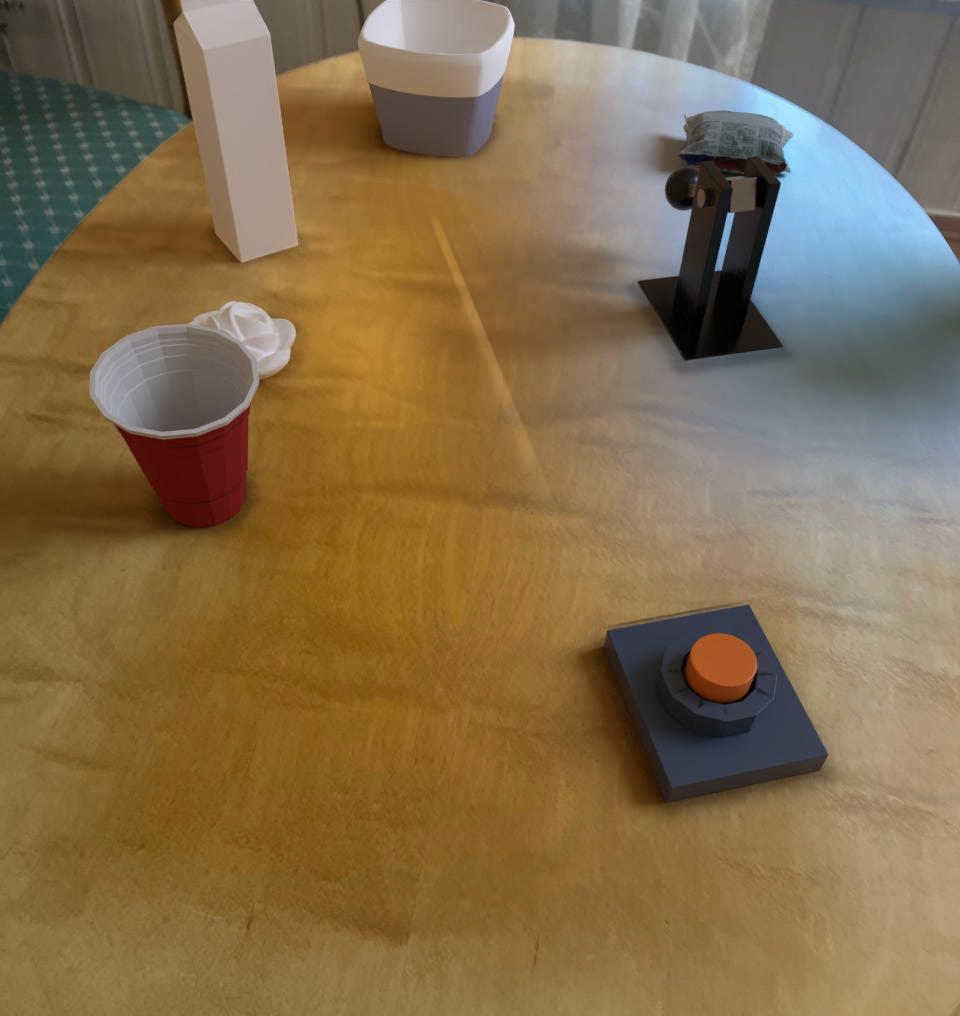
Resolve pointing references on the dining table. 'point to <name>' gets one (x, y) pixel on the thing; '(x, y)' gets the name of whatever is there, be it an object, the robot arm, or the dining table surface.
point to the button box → (710, 708)
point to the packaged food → (735, 141)
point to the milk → (237, 124)
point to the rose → (254, 333)
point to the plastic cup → (182, 415)
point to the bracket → (719, 294)
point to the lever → (684, 186)
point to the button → (720, 667)
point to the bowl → (436, 72)
